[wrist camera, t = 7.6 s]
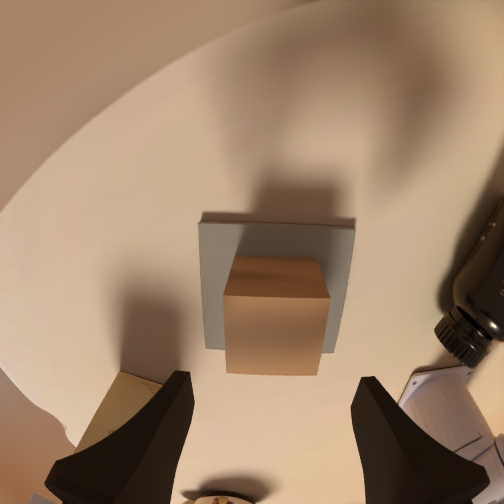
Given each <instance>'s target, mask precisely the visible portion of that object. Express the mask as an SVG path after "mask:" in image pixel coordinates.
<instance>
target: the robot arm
mask: <svg viewBox="0 0 504 504" xmlns="http://www.w3.org/2000/svg"><path fill="white" fill-rule="evenodd" d="M473 370H474V369H471V368H469V367H466V366H465V365H464V366H458V367H453V368H447V369H441V370H434V371H428V372H420V373H415V374H413V375H412V377H411V378H410V380H409V383H408V385H407V387H406V389H405V391H404V393H403V395H402V397H401V399H400V401H399V403H398V404H397V403H396V402H395V400H394V399H393V398H392V397H391V396H390V394H389V393H388V392H387V391H386V390H385V388H384V387H383V386H382V385H381V383H380V382H379V381H378V380H377V379H376V377H375V376H370V377H361V380H360V383H359V385H358V388H357V391H356V394H355V396H354V399H353V402H352V404H351V417H352V425H353V430H354V434H355V438H356V443H357V447H358V451H359V455H360V459H361V463H362V468H363V473H364V483H365V497H366V504H504V503H503V502H504V434H503V433H501V434H499V435H498V436H497V437H495V436H494V435H493V433H492V431H491V429H490V427H489V426H488V424H487V422H486V420H485V418H484V416H483V415H482V413H481V411H480V409H479V408H478V406H477V404H476V402H475V401H474V399H473V397H472V395H471V394H470V392H469V390H468V389H467V387H466V386H465V385H466V383H467V381H468V380H469V378H470V376H471V374H472V372H473ZM194 404H195V401H194V395H193V389H192V383H191V376H190V372H186V371H178V370H176V371H174V372H173V373H172V375H171V376H170V377H169V378H168V380H167V381H166V382H165V383H164V385H163V386H162V387H161V388H160V389H159V390H158V392H157V393H156V394H155V395H154V396H153V397H152V398H151V399H150V400H149V401H148V402H147V403H146V404H145V405H144V406H143V407H142V408H141V409H140V410H139V411H138V412H137V413H136V414H135V415H134V416H133V417H132V418H131V419H129V420H128V421H127V422H126V423H125V424H123V425H122V426H121V427H120V428H118V429H117V430H116V431H114V432H113V433H111V434H110V435H108V436H107V437H105V438H104V439H102V440H101V441H99V442H97V443H95V444H94V445H92V446H90V447H88V448H86V449H84V450H82V451H80V452H78V453H75V454H73V455H70V456H68V457H65V458H63V459H60V460H57V461H56V462H55V464H54V465H53V467H52V468H51V470H50V473H49V474H48V476H47V478H46V481H45V483H44V484H45V486H46V487H47V488H48V489H49V491H51V492H52V493H53V494H54V495H55V496H56V497H58V498H59V499H60V500H61V501H63V503H62V504H170V501H171V495H172V489H173V483H174V478H175V473H176V468H177V465H178V461H179V458H180V455H181V452H182V449H183V446H184V443H185V440H186V437H187V434H188V431H189V428H190V424H191V420H192V415H193V410H194ZM28 504H56V503H54V502H53V501H51V500H49V499H47V498H45V497H43V496H42V495H40V494H38V493H36V492H33V494H32V496H31V498H30V500H29V502H28Z"/></svg>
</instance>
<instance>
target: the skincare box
mask: <svg viewBox="0 0 504 504" xmlns="http://www.w3.org/2000/svg"><path fill="white" fill-rule="evenodd" d="M162 386H163V385H161V384H158V383H155V382H151V381H148V380H145V379H142V378H139V377H136V376H134V375H131V374H128V373H125V372H121V371H120V372H119V373H118V375H117V376H116V378H115V380H114V382H113V383H112V385H111V387H110V389H109V390H108V392H107V394H106V396H105V397H104V399H103V401H102V403H101V404H100V406H99V408H98V410H97V411H96V413H95V415H94V417H93V419H92V420H91V422H90V424H89V426H88V428H87V429H86V431H85V433H84V435H83V437H82V439H81V441H80V442H79V444H78V446H77V448H76V450H75V452H74V454H75V453H78V452H80V451H82V450H84V449H86V448H88V447H90V446H92V445H94V444H95V443H97V442H99V441H101V440H102V439H104V438H105V437H107V436H108V435H110V434H111V433H113V432H114V431H116V430H117V429H118V428H120V427H121V426H122V425H123V424H125V423H126V422H127V421H128V420H129V419H131V418H132V417H133V416H134V415H135V414H136V413H137V412H138V411H139V410H140V409H141V408H142V407H143V406H144V405H145V404H146V403H147V402H148V401H149V400H150V399H151V398H152V397H153V396H154V395H155V394H156V393H157V392H158V390H159V389H160V388H161V387H162Z"/></svg>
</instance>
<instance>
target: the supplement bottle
mask: <svg viewBox="0 0 504 504" xmlns="http://www.w3.org/2000/svg"><path fill="white" fill-rule="evenodd" d="M452 297H453V300H454V307H453V308H452V310H447V311H446V312H445V314H444V317H443V318H442V319H441V320H440V322H439V323H438V324H437V325H436V327H435V329H434V330H435V331H434V332H435V334H436V336H437V338H438V339H439V341H440V342H441V343H442V345H443V346H444V347H445V348H446V349H447V350H448V351H449V352H450V353H451V354H452V355H453V356H454V357H455V358H456V359H457V360H458V361H459V362H461V363H462V364H463V365H465V366H466V367H469V368H471V369H474V368H475V367H476V366H477V365H478V364H479V363H480V361H481V360H482V359H483V358H484V357H485V356H487V355H488V354H489V352H490V348H489V347H490V346H491V344H492V343H493V342H497V343H504V194H503V196H502V198H501V200H500V202H499V204H498V206H497V208H496V210H495V212H494V214H493V216H492V218H491V220H490V221H489V223H488V225H487V227H486V229H485V231H484V232H483V234H482V236H481V238H480V240H479V241H478V243H477V245H476V246H475V248H474V250H473V251H472V253H471V255H470V256H469V258H468V260H467V261H466V263H465V264H464V266H463V267H462V269H461V271H460V272H459V274H458V275H457V277H456V278H455V280H454V282H453V285H452Z"/></svg>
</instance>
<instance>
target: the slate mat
mask: <svg viewBox="0 0 504 504" xmlns="http://www.w3.org/2000/svg"><path fill="white" fill-rule="evenodd" d="M198 228H199V254H200V274H201V291H202V307H203V321H204V333H205V345H206V349H218V350H225V333H224V310H223V293H224V290H225V287H226V283H227V280H228V277H229V273H230V270H231V267H232V263H233V260H234V257H235V256H261V257H292V258H316V259H317V262H318V265H319V267H320V270H321V273H322V276H323V278H324V281H325V284H326V287H327V289H328V292H329V295H330V298H331V300H330V306H329V313H328V319H327V325H326V331H325V336H324V342H323V347H322V352H321V353H334V348H335V344H336V339H337V335H338V330H339V325H340V320H341V316H342V310H343V305H344V300H345V294H346V289H347V283H348V277H349V271H350V264H351V258H352V251H353V244H354V236H355V229H354V228H353V227H344V226H326V225H306V224H285V223H260V222H230V221H200V222H199V223H198Z"/></svg>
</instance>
